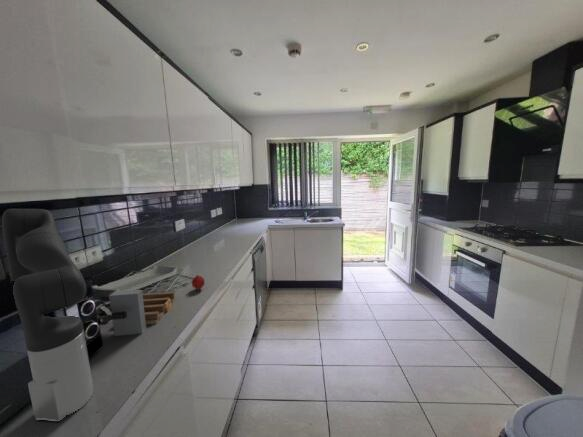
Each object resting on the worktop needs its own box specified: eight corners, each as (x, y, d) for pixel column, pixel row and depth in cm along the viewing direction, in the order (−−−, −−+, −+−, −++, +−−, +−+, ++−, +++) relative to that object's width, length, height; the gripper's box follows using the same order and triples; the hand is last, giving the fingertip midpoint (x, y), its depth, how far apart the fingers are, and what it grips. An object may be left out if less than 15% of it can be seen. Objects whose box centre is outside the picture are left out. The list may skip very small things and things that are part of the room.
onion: (192, 288, 116) (191, 273, 115) (204, 286, 118) (203, 271, 117) (192, 293, 111) (190, 277, 109) (205, 291, 113) (203, 275, 111)
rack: (159, 323, 87) (158, 314, 86) (116, 326, 85) (115, 318, 84) (177, 297, 106) (177, 290, 106) (143, 300, 105) (142, 292, 104)
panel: (142, 333, 81) (137, 293, 79) (114, 336, 80) (108, 295, 78) (146, 328, 84) (141, 289, 82) (119, 330, 83) (114, 291, 81)
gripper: (62, 313, 71) (119, 309, 73) (95, 292, 85) (142, 289, 87) (66, 335, 72) (122, 330, 74) (98, 310, 86) (144, 307, 88)
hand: (133, 308), depth 81 cm, fingers open, 8 cm apart
